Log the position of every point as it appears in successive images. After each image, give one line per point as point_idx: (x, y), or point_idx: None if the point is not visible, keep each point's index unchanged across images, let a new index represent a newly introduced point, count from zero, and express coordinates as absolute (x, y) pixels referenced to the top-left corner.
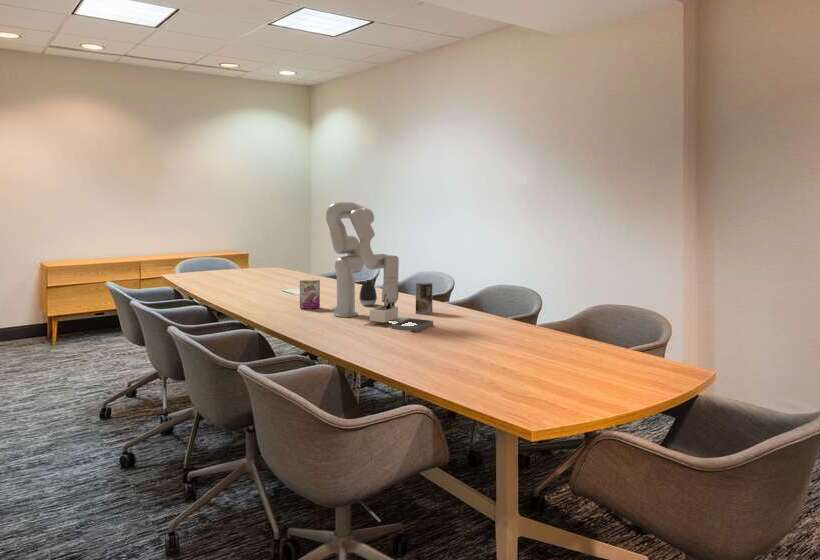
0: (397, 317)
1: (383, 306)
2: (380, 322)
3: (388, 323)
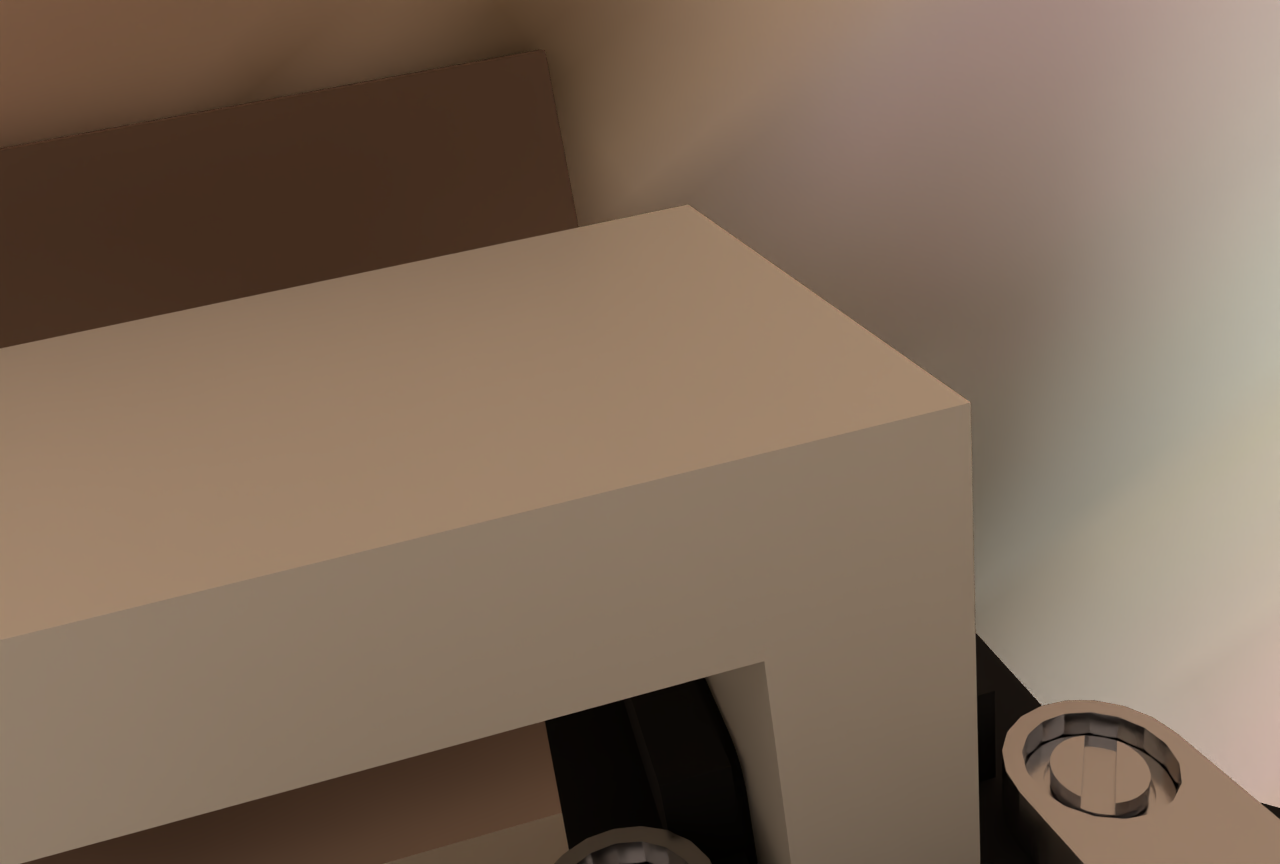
0: None
1: (570, 690)
2: None
3: (139, 860)
